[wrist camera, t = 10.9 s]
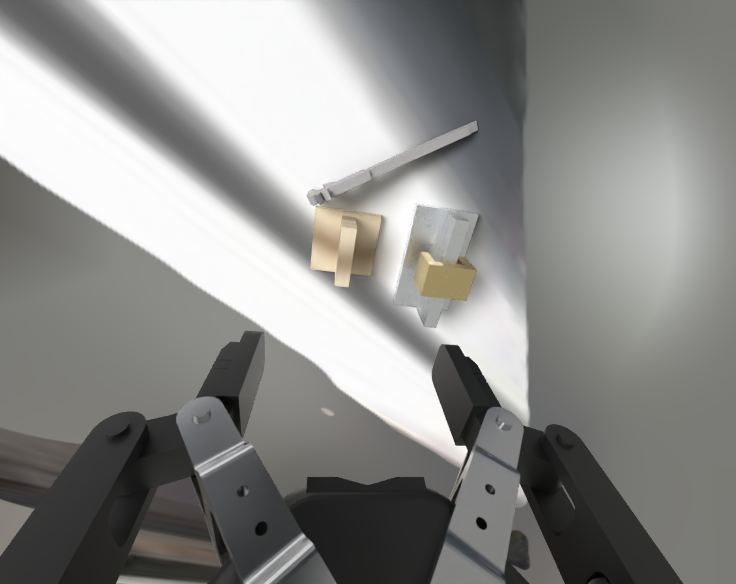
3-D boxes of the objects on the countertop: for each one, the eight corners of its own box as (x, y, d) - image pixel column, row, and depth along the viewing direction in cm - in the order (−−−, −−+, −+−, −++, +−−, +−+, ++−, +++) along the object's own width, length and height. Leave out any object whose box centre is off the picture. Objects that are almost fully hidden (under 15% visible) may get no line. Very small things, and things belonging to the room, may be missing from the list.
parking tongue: (316, 205, 37) (311, 218, 31) (380, 214, 38) (387, 228, 32) (311, 266, 40) (306, 286, 35) (370, 272, 41) (374, 293, 36)
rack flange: (415, 203, 37) (427, 215, 32) (475, 212, 39) (496, 225, 33) (392, 301, 44) (400, 324, 38) (445, 306, 45) (459, 330, 40)
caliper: (313, 198, 37) (307, 210, 31) (309, 190, 36) (303, 200, 30) (476, 129, 34) (502, 129, 29) (474, 119, 34) (501, 117, 28)
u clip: (420, 251, 37) (429, 264, 34) (463, 256, 38) (476, 270, 34) (413, 280, 39) (421, 296, 35) (454, 284, 40) (466, 300, 36)
